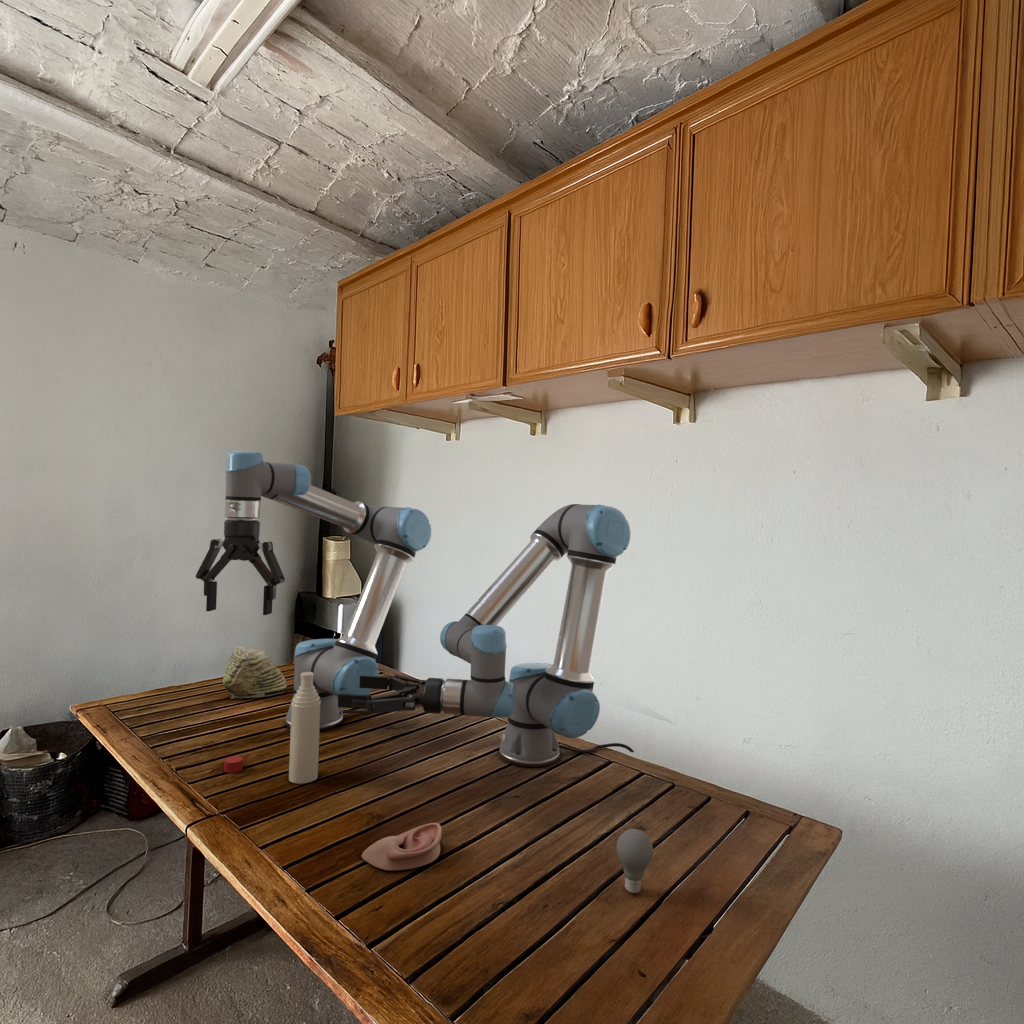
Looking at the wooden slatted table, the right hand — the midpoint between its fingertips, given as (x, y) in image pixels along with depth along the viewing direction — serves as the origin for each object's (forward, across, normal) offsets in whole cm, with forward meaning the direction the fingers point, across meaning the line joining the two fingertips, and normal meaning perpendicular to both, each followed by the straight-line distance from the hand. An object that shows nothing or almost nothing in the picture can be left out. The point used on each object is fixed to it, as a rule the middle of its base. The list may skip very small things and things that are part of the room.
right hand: (349, 690), depth 141 cm
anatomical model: (-20, -26, -20) cm, 39 cm away
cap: (+27, +1, -18) cm, 33 cm away
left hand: (+27, +1, +16) cm, 31 cm away
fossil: (+49, +52, -20) cm, 74 cm away
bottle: (+10, 0, -20) cm, 23 cm away
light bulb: (-60, -30, -21) cm, 71 cm away
